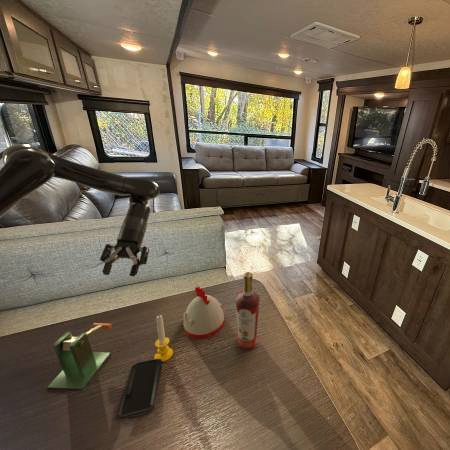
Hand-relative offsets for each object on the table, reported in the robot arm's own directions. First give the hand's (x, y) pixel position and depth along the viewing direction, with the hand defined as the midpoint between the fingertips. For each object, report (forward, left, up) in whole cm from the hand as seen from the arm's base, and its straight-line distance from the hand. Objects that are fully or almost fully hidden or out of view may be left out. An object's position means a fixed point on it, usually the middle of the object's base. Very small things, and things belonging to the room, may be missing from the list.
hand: (119, 275), depth 83 cm
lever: (0, -17, -10) cm, 20 cm away
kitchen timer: (+28, -2, -18) cm, 33 cm away
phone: (+19, -26, -18) cm, 37 cm away
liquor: (+45, -10, -18) cm, 49 cm away
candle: (+20, -16, -18) cm, 31 cm away
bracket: (0, -22, -18) cm, 28 cm away
